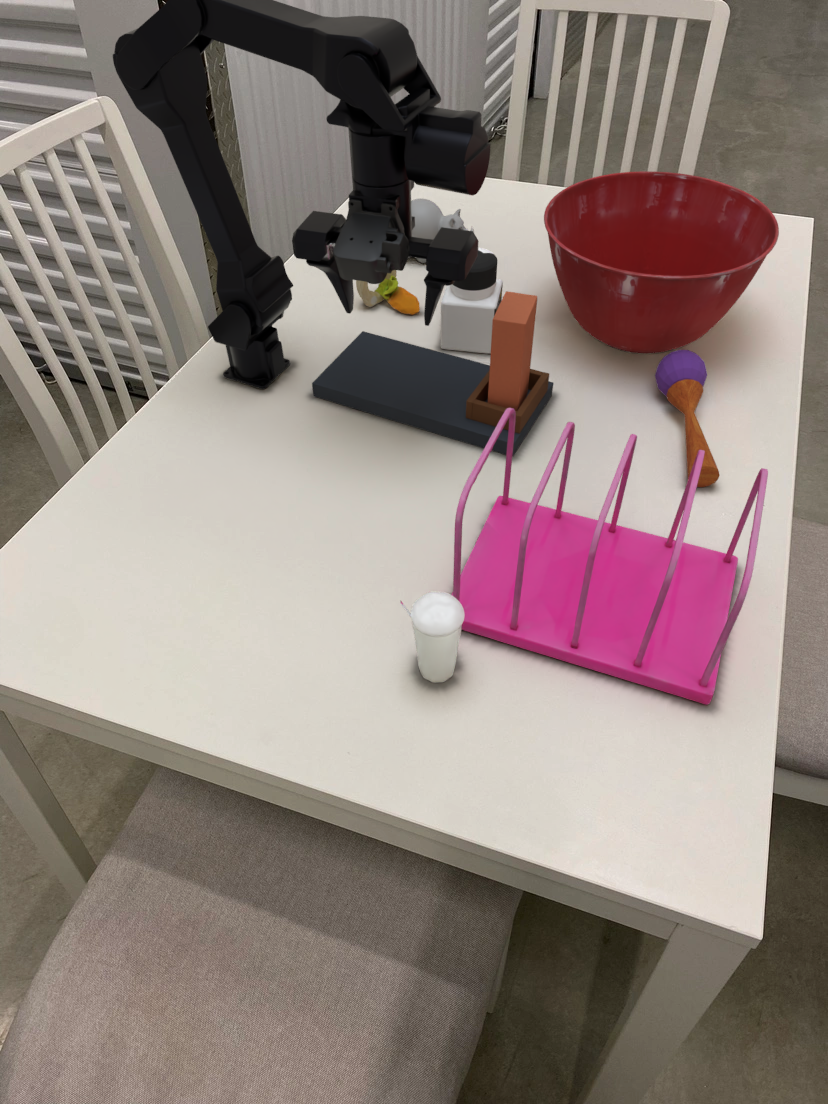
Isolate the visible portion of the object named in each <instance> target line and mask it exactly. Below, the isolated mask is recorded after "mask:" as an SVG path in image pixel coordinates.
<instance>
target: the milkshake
mask: <svg viewBox="0 0 828 1104" xmlns="http://www.w3.org/2000/svg"><path fill="white" fill-rule="evenodd" d="M451 594H452V593H451ZM451 594H450V593H448V592H445V591H434V590H433V591H428V592H426V593H424V594H423V595H421V596H420V597H419V598H417V599H416V600H415V601H414V602H413V603H412V605H411V609H410V610H409V609H408V607H406V605H405V604H404V602H403V601H402V600H399V603H400V606H401V607H402V608H403V609H404V611H405V612H406V613H407V615H408V616H409V617H410V620H411V621H410V622H411V627H412V631H413V635H414V643H415V644H414V645H415V651H416V659H417V664H418V670H419V671H420V674H421V676H422V678H423V679H424V680H426V681H430V682H431V683H433V684H435V683H445V682H446V681H448V680H449V679H450V678H451V677H453V676H454V672H455V667H456V663H457V657H458V651H459V644H460V639H461V635H462V631H463V630H462V626H463V622H464V616H465V615H464V609H463V607H462V605H461V603H460V602H459V601H458V600H457V599H456V598H455V597H454V596H452V595H451Z"/></svg>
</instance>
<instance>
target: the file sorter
mask: <svg viewBox="0 0 828 1104" xmlns="http://www.w3.org/2000/svg"><path fill="white" fill-rule="evenodd" d="M508 418H509V432H508V443H507V454H506V455H505V467H504V479H503V490H502V495H498V496H497V497H496V500H495V502H494V504H493V506H492V507H491V510H490V512H489V514H488V517H487V518H486V520H485V522H484V524H483V527H482V528H481V531H480V532H479V535H478V537H477V539H476V542H475V544H474V546H473V548H472V550H471V552H470V554H469V557H468V559H467V560H466V563H465V565H464V567H463V569H462V545H463V544H462V542H463V521H464V520H463V519H464V513H465V509H466V504H467V501H468V499H469V495H470V492H471V489H472V487H473V485H474V484H475V483H476V481H477V479H478V477H479V475H480V473H481V471H482V469H483V467H484V465H485V463H486V461H487V459H488V458H489V456H490V453H492V451H491V450H492V448H493V446H494V444H495V442H496V440H497V438H498V437H499V435H500V433H501V431H502V430H503V428H504V426H505V424H506V422H507V420H508ZM515 419H516V413H515V410H514V409H513V408H507V409H506V410H505V412H504V413H503V415H502V417H501V419H500V421H499V422H498V424H497V426H496V428H495V430H494V432H493V433H492V435H491V437H490V439H489V441H488V443H487V444H486V446H485V448H483V450H482V452H481V454H480V456H479V457H478V459H477V461H476V463H475V465H474V466H473V469H472V470H471V473H470V474H469V476H468V477H467V480H466V482H465V484H464V486H463V488H462V490H461V493H460V497H459V499H458V503H457V507H456V512H455V520H454V540H453V541H454V542H453V544H454V545H453V573H452V575H453V576H452V577H453V578H452V579H453V582H452V592H451V595H452V596H454V597H455V598H456V599H457V600H458V601H459V602H460V603H461V605H462V607H463V609H464V615H465V616H464V622H463V626H462V631H464V632H468V633H471V634H475V635H477V636H481V637H484V638H488V639H491V640H495V641H498V642H501V643H504V644H508V645H510V646H514V647H517V648H520V649H523V650H527V651H529V652H530V651H531V652H532V653H533V652H534V653H537V654H540V655H542V656H547V657H550V658H553V659H556V660H558V661H559V660H560V661H563V662H566V663H570V664H572V665H576V666H578V667H579V666H580V667H583V668H586V669H589V670H592V671H596V672H599V673H602V674H606V675H609V676H612V677H615V678H618V679H621V680H624V681H629V682H632V683H633V684H634V683H635V684H638V685H641V686H645V687H648V688H651V689H654V690H658V691H661V692H665V693H668V694H671V695H674V696H676V697H677V696H678V697H680V698H684V699H687V700H690V701H694V702H696V703H699V704H703V705H709V704H711V701H712V699H713V697H714V695H715V694H714V693H715V690H716V685H717V679H718V674H719V667H720V663H721V657H722V652H723V650H724V648H725V645H726V644H727V641H728V639H729V637H730V635H731V633H732V631H733V628H734V626H735V624H736V622H737V620H738V617H739V615H740V612H741V610H742V608H743V606H744V603H745V600H746V597H747V594H748V591H749V588H750V585H751V580H752V577H753V571H754V566H755V561H756V556H757V550H758V544H759V537H760V530H761V524H762V517H763V511H764V504H765V497H766V492H767V491H766V489H767V484H768V477H769V470H768V468H763V467H761V468H760V469H759V470H758V473H757V476H756V477H755V479H754V482H753V484H752V487H751V490H750V492H749V495H748V498H747V499H746V500H747V501H746V503H745V506H744V508H743V511H742V513H741V515H740V518H739V521H738V523H737V525H736V527H735V530H734V533H733V535H732V538H731V541H730V543H729V545H728V548H727V551H726V552H722V551H718V550H714V549H711V548H707V547H703V546H699V545H695V544H693V543H692V544H691V543H688V542H684V541H685V536H686V531H687V528H688V524H689V520H690V516H691V511H692V508H693V504H694V500H695V496H696V491H697V488H698V487H697V484H698V479H699V475H700V471H701V467H702V463H703V459H704V454H705V451H704V450H699V451H698V453H697V456H696V458H695V461H694V464H693V467H692V470H691V473H690V476H689V479H688V478H687V481H686V485H685V488H684V491H683V493H682V497H681V499H680V502H679V505H678V508H677V510H676V513H675V517H674V520H673V522H672V525H671V528H670V532H669V533H668V537H665V536H660V535H657V534H653V533H649V532H645V531H641V530H637V529H635V528H630V527H626V526H622V525H619V524H618V521H619V520H618V519H619V516H620V512H621V508H622V504H623V500H624V495H625V491H626V487H627V483H628V478H629V474H630V471H631V467H632V462H633V457H634V455H635V454H634V453H635V451H636V450H635V449H636V445H637V440H638V435H637V434H634V433H630V435H629V437H628V440H627V442H626V445H625V447H624V450H623V453H622V455H621V457H620V460H619V462H618V466H617V468H616V471H615V473H614V476H613V479H612V481H611V484H610V486H609V489H608V491H607V494H606V497H605V500H604V502H603V504H602V507H601V510H600V513H599V516H598V519H595V518H591V517H588V516H583V515H579V514H575V513H572V512H568V511H564V510H562V509H563V504H564V497H565V494H566V486H567V480H568V475H569V469H570V463H571V457H572V450H573V444H574V438H575V430H576V424H575V422H573V421H568V422H567V423H566V425H565V426H564V429H563V430H562V432H561V435H560V437H559V439H558V442H557V443H556V446H555V448H554V449H553V452H552V455H551V457H550V459H549V461H548V462H547V466H546V467H545V470H544V471H543V475H542V476H541V478H540V481H539V483H538V486H537V487H536V490H535V492H534V495H533V496H532V499H531V501H530V502H528V501H525V500H521V499H516V498H513V497H510V488H511V486H510V485H511V476H512V475H511V474H512V463H513V457H512V454H513V443H514V433H515ZM564 446H565V451H564V456H563V462H562V463H563V464H562V469H561V470H562V471H561V476H560V483H559V489H558V495H557V501H556V507H555V508H551V507H548V506H543V505H540V504H539V502H540V500H541V497H542V495H543V493H544V491H545V489H546V487H547V484H548V483H549V480H550V477H551V475H552V472H553V471H554V469H555V467H556V464H557V462H558V460H559V458H560V455H561V452H562V451H563V449H564ZM618 487H619V488H618ZM617 489H618V492H617ZM616 492H617V496H616V499H615V504H614V508H613V512H612V518H611V522H607V521H606V519H607V517H608V514H609V511H610V509H611V506H612V502H613V501H614V497H615V495H616ZM755 500H756V502H755ZM754 502H755V508H754V513H753V514H754V515H753V521H752V526H751V532H750V537H749V544H748V548H747V555H746V561H745V568H744V573H743V576H742V578H741V579H742V580H741V583H740V587H739V590H738V594H737V596H736V599H735V602H734V603H733V606H732V608H731V611H730V606H731V601H732V597H733V596H732V595H733V590H734V584H735V580H736V573H737V568H738V564H739V558H738V556H736V555H734V552H735V550H736V547H737V545H738V542H739V540H740V538H741V534H742V532H743V530H744V527H745V526H746V522H747V519H748V518H749V514H750V512H751V510H752V507H753V505H754ZM676 534H677V536H676ZM675 536H676V540H675Z"/></svg>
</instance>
